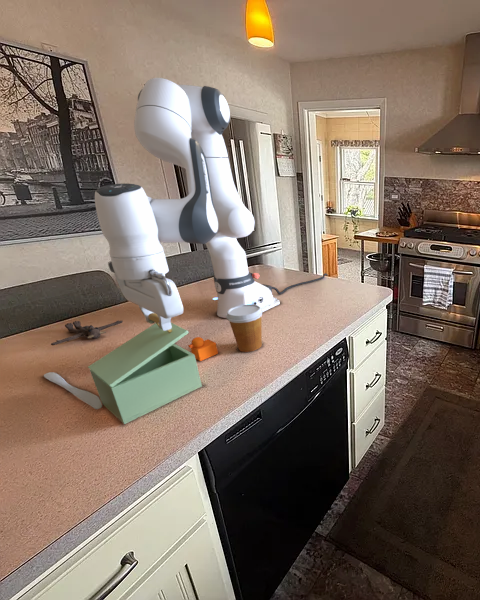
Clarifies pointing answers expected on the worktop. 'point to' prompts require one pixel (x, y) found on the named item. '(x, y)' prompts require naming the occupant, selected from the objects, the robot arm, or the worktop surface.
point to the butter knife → (75, 390)
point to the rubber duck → (203, 348)
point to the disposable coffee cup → (246, 326)
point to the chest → (151, 384)
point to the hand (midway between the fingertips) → (159, 325)
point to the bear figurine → (84, 331)
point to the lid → (136, 352)
